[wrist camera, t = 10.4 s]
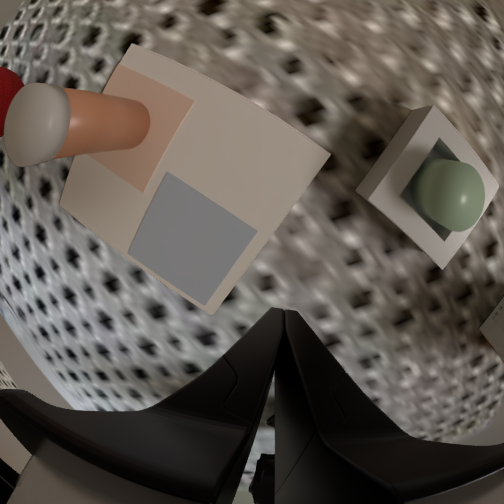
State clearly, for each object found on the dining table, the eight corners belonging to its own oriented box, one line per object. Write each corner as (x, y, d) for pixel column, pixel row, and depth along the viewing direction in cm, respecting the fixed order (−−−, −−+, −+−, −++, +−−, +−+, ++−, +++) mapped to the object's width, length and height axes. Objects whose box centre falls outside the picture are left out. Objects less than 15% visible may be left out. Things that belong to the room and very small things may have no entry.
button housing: (423, 252, 20) (442, 269, 17) (354, 190, 19) (367, 199, 16) (474, 179, 17) (499, 186, 14) (412, 109, 16) (433, 105, 13)
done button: (436, 228, 17) (460, 245, 14) (399, 191, 16) (421, 202, 13) (466, 185, 15) (493, 194, 12) (431, 145, 15) (458, 147, 12)
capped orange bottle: (146, 153, 19) (44, 170, 9) (103, 148, 19) (1, 164, 10) (156, 100, 18) (57, 78, 8) (112, 98, 18) (10, 87, 8)
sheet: (213, 312, 24) (211, 316, 24) (62, 203, 22) (58, 205, 22) (330, 154, 18) (331, 154, 18) (134, 44, 16) (131, 43, 16)
